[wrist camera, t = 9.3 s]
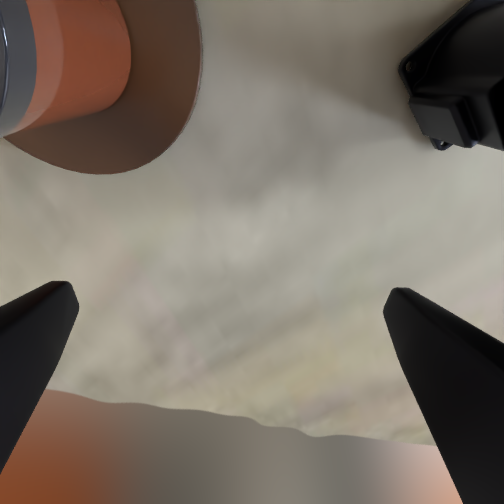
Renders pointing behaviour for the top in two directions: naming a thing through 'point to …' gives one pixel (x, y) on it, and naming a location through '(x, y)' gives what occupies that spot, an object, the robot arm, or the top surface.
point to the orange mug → (59, 60)
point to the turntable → (133, 97)
